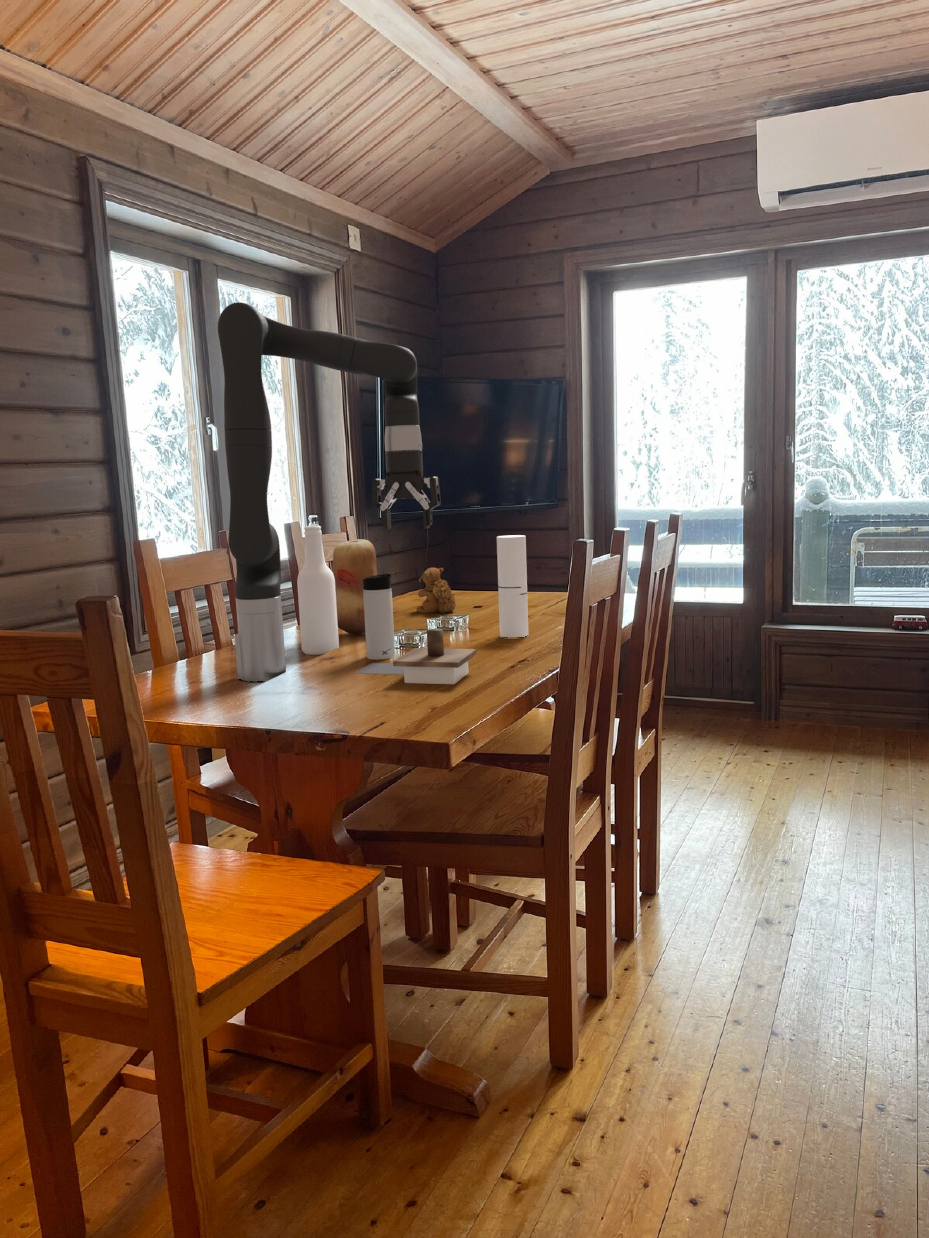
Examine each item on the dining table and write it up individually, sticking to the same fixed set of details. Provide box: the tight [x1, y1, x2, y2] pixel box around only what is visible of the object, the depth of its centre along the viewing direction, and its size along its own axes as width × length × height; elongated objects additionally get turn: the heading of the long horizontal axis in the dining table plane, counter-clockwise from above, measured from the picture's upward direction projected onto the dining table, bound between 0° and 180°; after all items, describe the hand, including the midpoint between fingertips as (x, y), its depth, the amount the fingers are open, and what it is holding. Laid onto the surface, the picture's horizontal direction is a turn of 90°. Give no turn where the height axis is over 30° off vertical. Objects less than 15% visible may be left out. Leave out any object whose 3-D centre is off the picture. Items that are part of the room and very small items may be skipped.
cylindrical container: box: [496, 534, 529, 639], centre depth 231 cm, size 7×7×25 cm
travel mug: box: [363, 572, 396, 660], centre depth 204 cm, size 6×7×20 cm
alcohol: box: [296, 525, 340, 656], centre depth 219 cm, size 9×9×30 cm
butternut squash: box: [332, 538, 378, 637], centre depth 240 cm, size 14×13×25 cm
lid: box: [392, 628, 478, 668], centre depth 181 cm, size 13×13×6 cm
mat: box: [354, 662, 404, 676], centre depth 192 cm, size 13×10×2 cm
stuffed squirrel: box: [416, 567, 457, 614], centre depth 277 cm, size 10×14×13 cm
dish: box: [403, 660, 469, 685], centre depth 182 cm, size 10×10×5 cm
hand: (407, 528), depth 192 cm, fingers open, 8 cm apart
